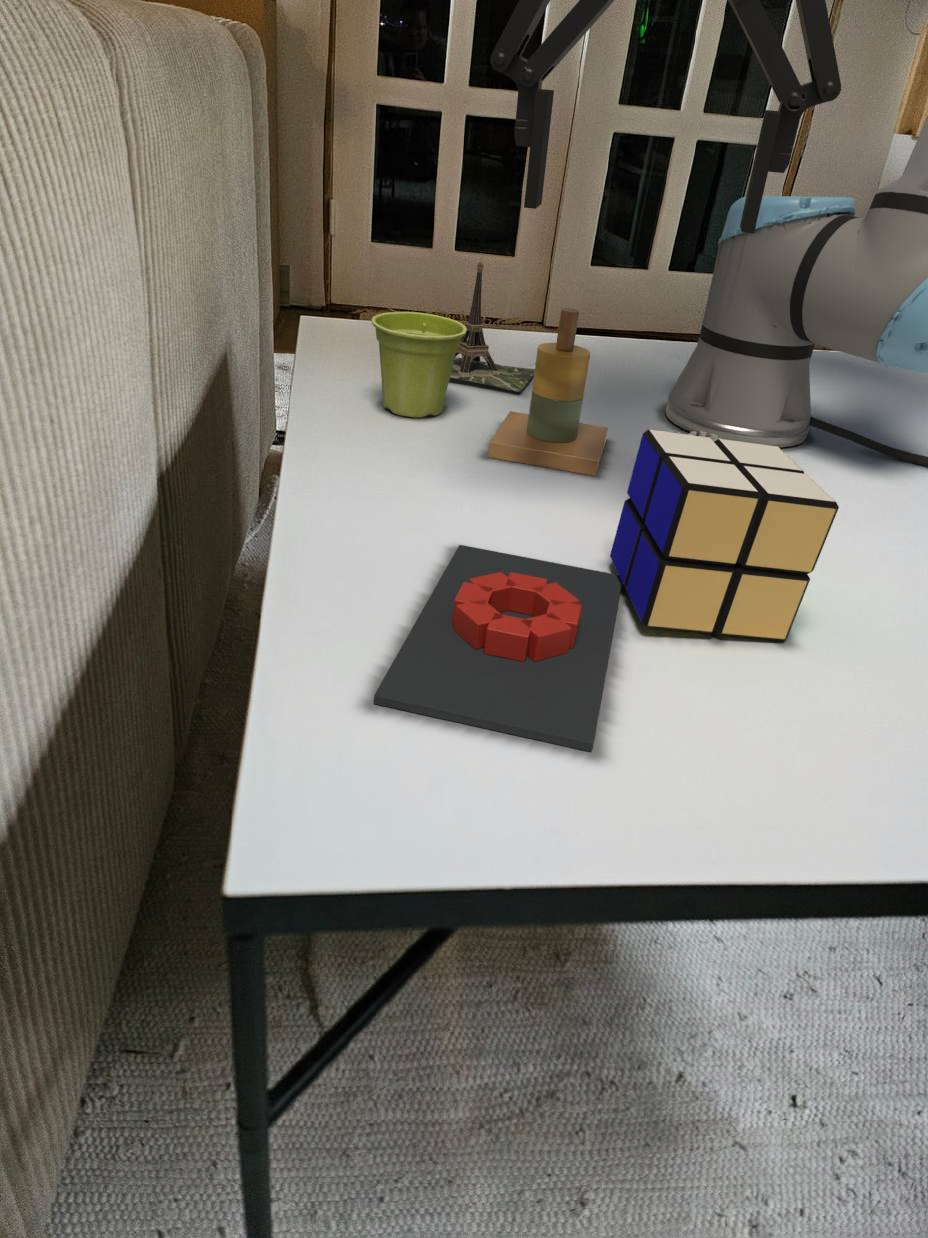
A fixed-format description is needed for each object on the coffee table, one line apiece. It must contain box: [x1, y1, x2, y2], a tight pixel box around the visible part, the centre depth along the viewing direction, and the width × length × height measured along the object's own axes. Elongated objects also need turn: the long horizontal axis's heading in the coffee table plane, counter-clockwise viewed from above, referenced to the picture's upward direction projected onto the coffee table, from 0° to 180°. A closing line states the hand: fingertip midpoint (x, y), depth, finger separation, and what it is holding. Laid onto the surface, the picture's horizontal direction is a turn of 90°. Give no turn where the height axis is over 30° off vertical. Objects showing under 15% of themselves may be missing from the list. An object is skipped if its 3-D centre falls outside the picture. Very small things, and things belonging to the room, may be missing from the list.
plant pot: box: [371, 311, 467, 419], centre depth 91 cm, size 9×9×9 cm
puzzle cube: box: [609, 429, 840, 642], centre depth 60 cm, size 10×10×10 cm
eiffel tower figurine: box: [450, 252, 535, 393], centre depth 104 cm, size 15×10×13 cm
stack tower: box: [487, 307, 609, 477], centre depth 84 cm, size 10×10×13 cm
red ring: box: [452, 572, 582, 662], centre depth 56 cm, size 8×8×2 cm
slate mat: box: [373, 544, 623, 752], centre depth 57 cm, size 12×20×1 cm, turn 167°
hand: (637, 218), depth 58 cm, fingers open, 13 cm apart
